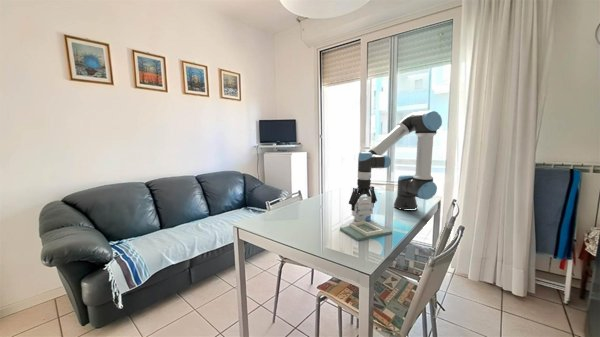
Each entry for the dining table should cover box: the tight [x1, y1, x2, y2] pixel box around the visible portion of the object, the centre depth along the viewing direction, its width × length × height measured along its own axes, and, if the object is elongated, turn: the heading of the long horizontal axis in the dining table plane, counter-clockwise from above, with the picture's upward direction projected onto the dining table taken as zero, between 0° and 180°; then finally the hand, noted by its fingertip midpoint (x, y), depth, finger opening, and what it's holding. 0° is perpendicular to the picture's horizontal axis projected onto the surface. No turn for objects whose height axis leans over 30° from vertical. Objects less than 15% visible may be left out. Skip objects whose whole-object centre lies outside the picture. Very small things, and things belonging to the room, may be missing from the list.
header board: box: [339, 221, 393, 242], centre depth 129 cm, size 22×15×3 cm
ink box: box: [353, 196, 372, 222], centre depth 146 cm, size 9×5×15 cm, turn 105°
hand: (362, 214), depth 147 cm, fingers open, 12 cm apart
